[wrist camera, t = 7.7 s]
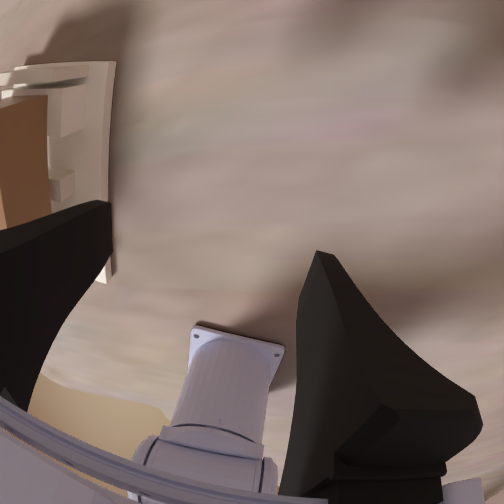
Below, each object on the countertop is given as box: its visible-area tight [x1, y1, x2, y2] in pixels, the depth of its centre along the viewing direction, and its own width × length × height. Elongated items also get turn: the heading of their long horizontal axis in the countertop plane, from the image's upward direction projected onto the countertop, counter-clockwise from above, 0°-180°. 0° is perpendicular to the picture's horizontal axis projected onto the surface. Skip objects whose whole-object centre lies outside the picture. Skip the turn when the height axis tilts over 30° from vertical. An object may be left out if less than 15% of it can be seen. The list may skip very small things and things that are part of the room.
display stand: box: [0, 61, 117, 284], centre depth 19 cm, size 17×9×4 cm, turn 169°
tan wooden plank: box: [0, 95, 52, 230], centre depth 16 cm, size 13×4×4 cm, turn 169°
